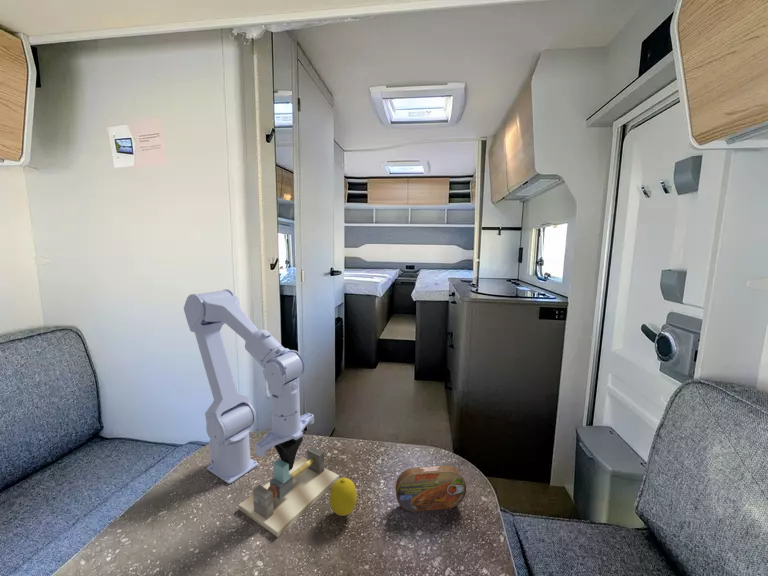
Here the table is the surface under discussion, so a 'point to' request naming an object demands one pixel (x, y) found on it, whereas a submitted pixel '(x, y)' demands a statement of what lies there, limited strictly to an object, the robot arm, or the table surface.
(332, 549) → the table surface
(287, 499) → the rod and block board
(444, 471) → the tin
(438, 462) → the table surface
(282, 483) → the sleeve
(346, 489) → the lemon
